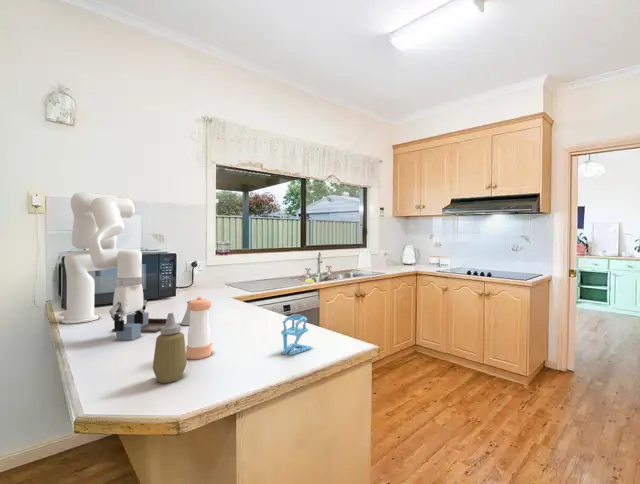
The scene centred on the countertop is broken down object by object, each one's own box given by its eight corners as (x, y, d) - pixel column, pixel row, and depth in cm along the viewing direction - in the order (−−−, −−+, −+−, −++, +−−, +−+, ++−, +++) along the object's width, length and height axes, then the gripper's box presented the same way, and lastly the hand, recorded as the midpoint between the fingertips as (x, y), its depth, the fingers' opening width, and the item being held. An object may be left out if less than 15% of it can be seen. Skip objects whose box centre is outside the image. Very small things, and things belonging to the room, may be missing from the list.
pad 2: (116, 340, 125) (116, 326, 125) (125, 336, 130) (125, 323, 130) (131, 340, 125) (132, 326, 125) (140, 336, 130) (141, 323, 130)
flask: (203, 321, 152) (203, 299, 152) (193, 326, 145) (193, 302, 145) (188, 321, 153) (188, 299, 153) (177, 325, 146) (177, 302, 146)
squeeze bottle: (162, 373, 96) (163, 310, 96) (191, 372, 97) (192, 309, 97) (145, 385, 88) (146, 316, 88) (177, 384, 89) (178, 316, 89)
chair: (277, 353, 113) (277, 317, 113) (292, 345, 121) (292, 312, 121) (296, 356, 110) (297, 319, 110) (310, 348, 118) (311, 314, 118)
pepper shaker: (185, 360, 105) (186, 299, 106) (186, 353, 112) (187, 295, 112) (211, 357, 109) (212, 297, 109) (210, 350, 115) (211, 294, 115)
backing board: (112, 331, 136) (112, 325, 136) (134, 323, 148) (134, 318, 148) (155, 332, 135) (156, 326, 135) (174, 324, 147) (174, 318, 147)
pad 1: (126, 326, 139) (126, 314, 139) (134, 323, 144) (134, 312, 144) (140, 327, 139) (140, 314, 139) (148, 324, 144) (148, 312, 144)
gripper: (136, 279, 136) (136, 321, 136) (100, 285, 119) (100, 334, 119) (154, 279, 136) (154, 321, 136) (121, 285, 119) (121, 334, 118)
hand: (129, 327), depth 127 cm, fingers open, 9 cm apart
